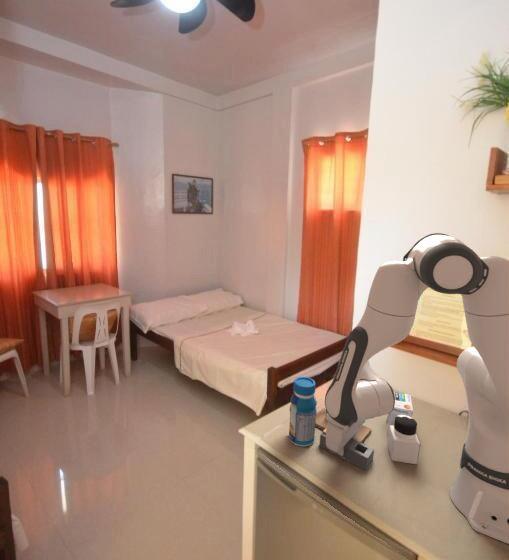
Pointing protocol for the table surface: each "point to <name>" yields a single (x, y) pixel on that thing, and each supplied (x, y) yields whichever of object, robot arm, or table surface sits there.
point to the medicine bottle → (403, 440)
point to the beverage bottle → (303, 412)
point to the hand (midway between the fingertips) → (345, 448)
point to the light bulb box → (400, 408)
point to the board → (322, 421)
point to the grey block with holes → (353, 451)
